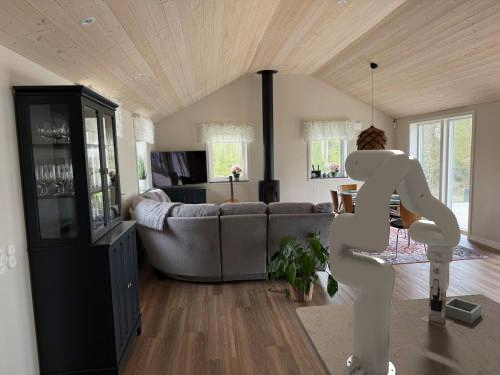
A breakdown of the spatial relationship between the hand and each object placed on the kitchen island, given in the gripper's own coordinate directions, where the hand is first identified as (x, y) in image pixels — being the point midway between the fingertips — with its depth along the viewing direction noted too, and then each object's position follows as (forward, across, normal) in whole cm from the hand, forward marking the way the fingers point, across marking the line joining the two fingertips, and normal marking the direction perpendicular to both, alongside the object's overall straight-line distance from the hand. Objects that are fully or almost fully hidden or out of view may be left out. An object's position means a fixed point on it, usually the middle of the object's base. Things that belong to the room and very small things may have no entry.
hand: (437, 307), depth 119 cm
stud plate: (+6, 0, 0) cm, 6 cm away
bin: (+6, +9, -6) cm, 13 cm away
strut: (+4, 0, 0) cm, 4 cm away
